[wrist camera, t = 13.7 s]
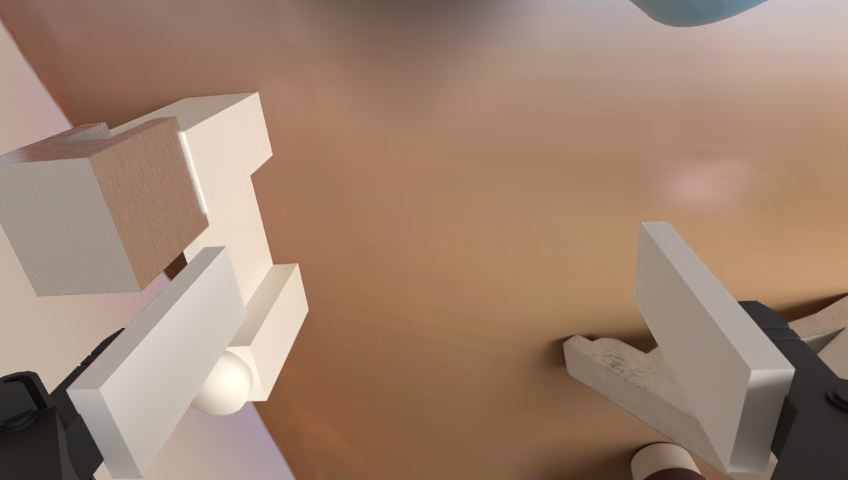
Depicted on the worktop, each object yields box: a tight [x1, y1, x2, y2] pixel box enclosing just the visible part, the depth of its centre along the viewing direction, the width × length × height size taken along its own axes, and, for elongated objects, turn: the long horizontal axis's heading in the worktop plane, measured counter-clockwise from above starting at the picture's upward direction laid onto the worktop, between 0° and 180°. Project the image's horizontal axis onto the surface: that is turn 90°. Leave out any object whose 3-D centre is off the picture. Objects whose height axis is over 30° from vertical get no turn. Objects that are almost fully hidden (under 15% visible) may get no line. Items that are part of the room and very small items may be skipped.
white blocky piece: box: [109, 92, 309, 415], centre depth 45 cm, size 24×7×18 cm, turn 5°
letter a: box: [563, 295, 848, 480], centre depth 54 cm, size 22×4×30 cm
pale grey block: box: [0, 116, 209, 296], centre depth 32 cm, size 8×6×9 cm
